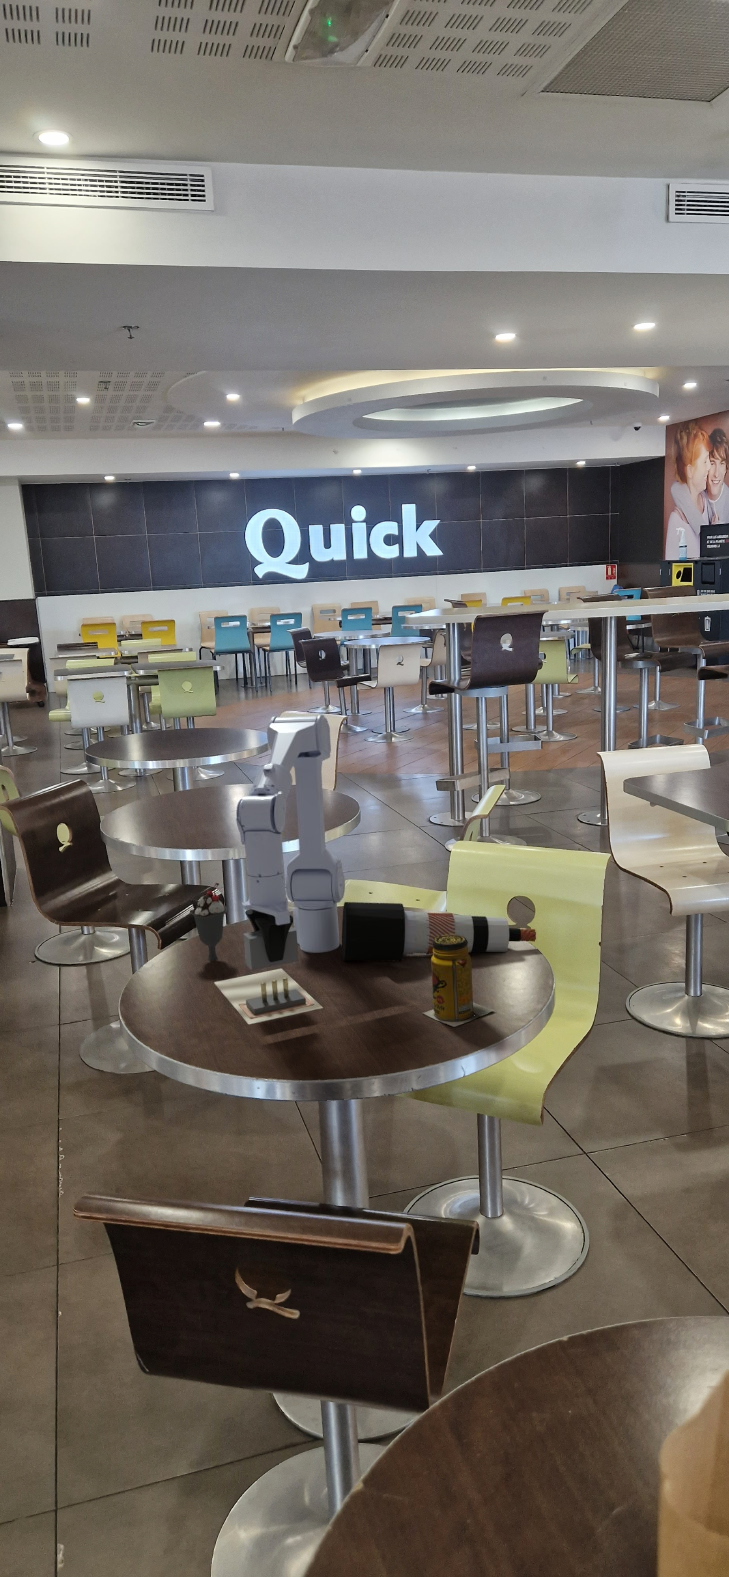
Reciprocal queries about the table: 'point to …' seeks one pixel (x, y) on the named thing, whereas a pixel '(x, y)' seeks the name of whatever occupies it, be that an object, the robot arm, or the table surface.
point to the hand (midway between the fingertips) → (272, 956)
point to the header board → (267, 996)
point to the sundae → (209, 920)
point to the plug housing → (257, 950)
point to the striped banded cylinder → (418, 931)
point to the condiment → (453, 982)
